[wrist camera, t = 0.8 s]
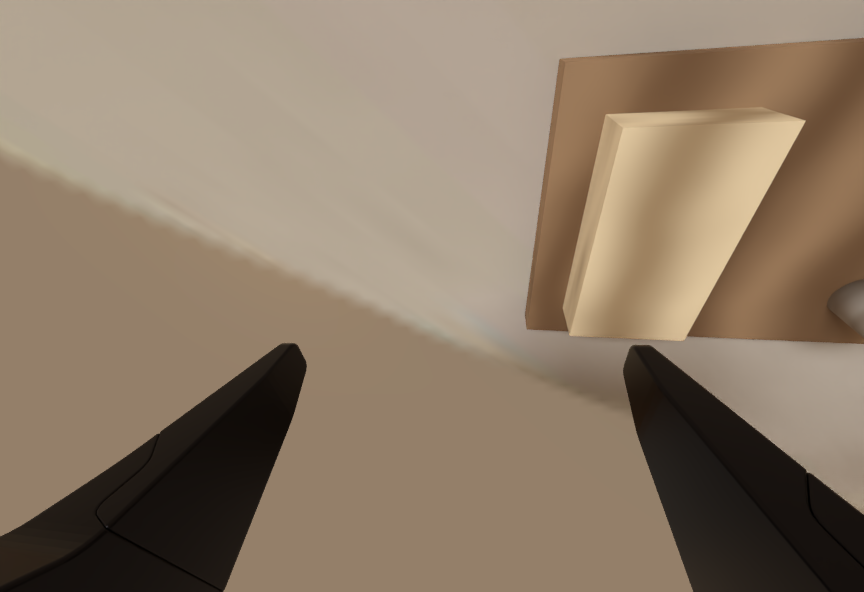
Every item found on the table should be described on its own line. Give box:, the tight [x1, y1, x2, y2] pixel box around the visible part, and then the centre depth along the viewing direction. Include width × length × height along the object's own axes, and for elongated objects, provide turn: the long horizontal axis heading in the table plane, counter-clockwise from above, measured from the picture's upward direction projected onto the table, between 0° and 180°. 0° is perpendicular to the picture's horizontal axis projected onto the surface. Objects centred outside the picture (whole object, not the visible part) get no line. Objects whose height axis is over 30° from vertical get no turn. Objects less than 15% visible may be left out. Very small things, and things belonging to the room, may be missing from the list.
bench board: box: [525, 38, 864, 344], centre depth 16 cm, size 20×15×5 cm
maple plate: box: [563, 107, 805, 341], centre depth 17 cm, size 6×11×2 cm, turn 4°
